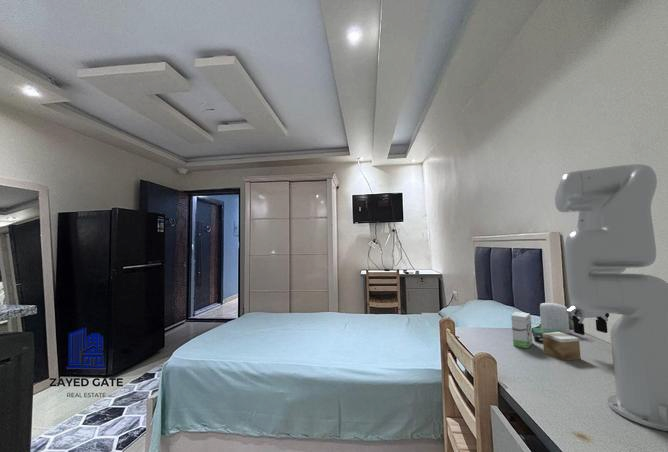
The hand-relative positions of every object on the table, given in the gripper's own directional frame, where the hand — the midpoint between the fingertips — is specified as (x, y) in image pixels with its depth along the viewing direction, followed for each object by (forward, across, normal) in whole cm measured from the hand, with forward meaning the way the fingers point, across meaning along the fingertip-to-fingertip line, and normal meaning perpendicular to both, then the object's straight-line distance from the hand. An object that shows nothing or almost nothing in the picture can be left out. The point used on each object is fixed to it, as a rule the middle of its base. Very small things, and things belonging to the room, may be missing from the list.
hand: (590, 332), depth 98 cm
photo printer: (+8, -11, -24) cm, 27 cm away
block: (+7, +13, 0) cm, 15 cm away
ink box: (+7, +17, -12) cm, 22 cm away
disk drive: (+8, +2, -16) cm, 18 cm away
